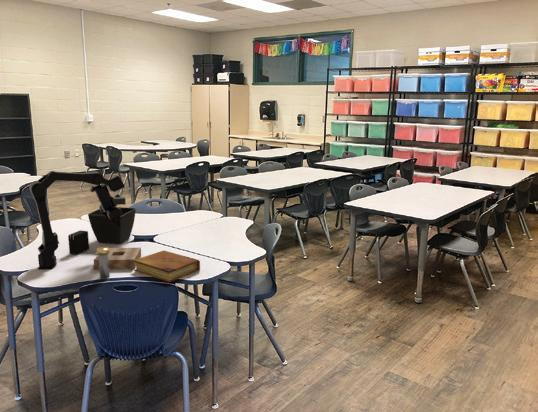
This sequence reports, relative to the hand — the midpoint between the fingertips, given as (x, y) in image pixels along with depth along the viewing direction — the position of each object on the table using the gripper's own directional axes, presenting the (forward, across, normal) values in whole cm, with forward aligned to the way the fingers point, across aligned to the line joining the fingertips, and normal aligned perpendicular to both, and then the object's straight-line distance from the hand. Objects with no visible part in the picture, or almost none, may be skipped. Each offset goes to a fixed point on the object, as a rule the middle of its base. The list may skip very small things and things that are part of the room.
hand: (117, 224), depth 226 cm
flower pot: (+17, +27, 0) cm, 32 cm away
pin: (+10, -27, +18) cm, 34 cm away
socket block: (+14, -11, +8) cm, 19 cm away
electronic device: (+10, +16, +20) cm, 27 cm away
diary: (+20, -32, -6) cm, 39 cm away
